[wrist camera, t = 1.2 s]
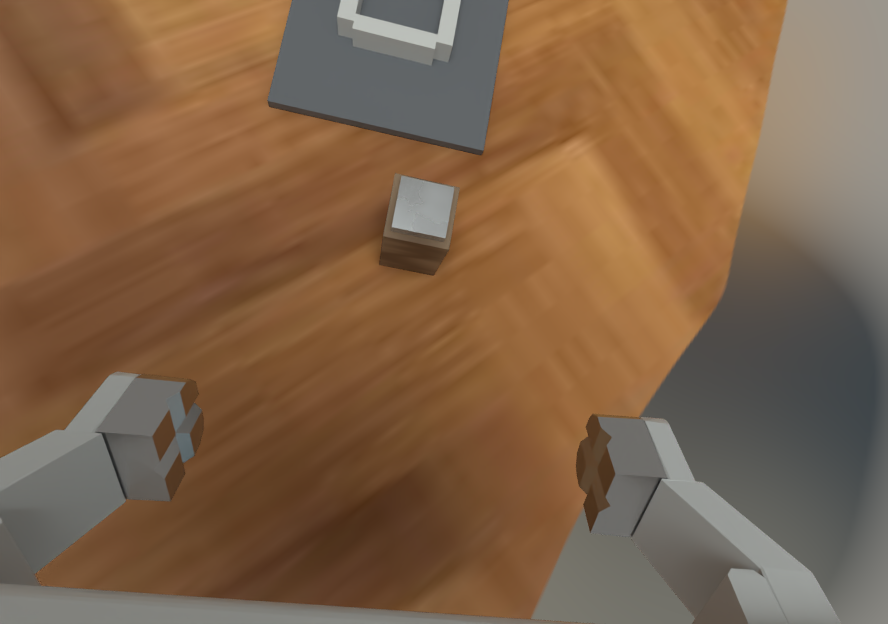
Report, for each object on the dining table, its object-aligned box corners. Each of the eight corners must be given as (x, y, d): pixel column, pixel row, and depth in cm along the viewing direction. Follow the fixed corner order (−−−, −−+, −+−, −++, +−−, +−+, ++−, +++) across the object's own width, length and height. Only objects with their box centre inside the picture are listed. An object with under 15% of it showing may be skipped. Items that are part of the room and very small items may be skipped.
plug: (379, 264, 39) (383, 232, 31) (389, 212, 40) (396, 167, 32) (433, 275, 39) (451, 246, 31) (442, 223, 40) (462, 182, 32)
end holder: (269, 106, 39) (262, 85, 37) (325, -122, 43) (322, -157, 40) (481, 155, 41) (489, 138, 38) (518, -67, 45) (528, -97, 42)
